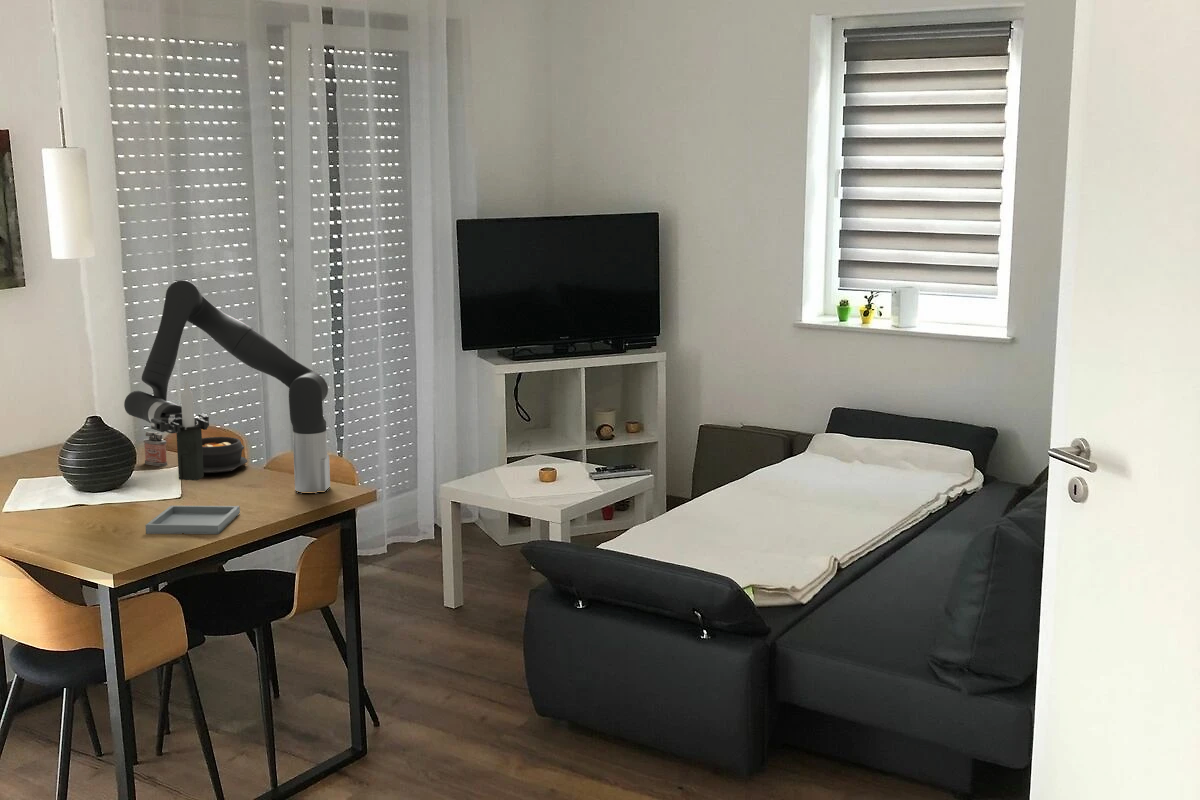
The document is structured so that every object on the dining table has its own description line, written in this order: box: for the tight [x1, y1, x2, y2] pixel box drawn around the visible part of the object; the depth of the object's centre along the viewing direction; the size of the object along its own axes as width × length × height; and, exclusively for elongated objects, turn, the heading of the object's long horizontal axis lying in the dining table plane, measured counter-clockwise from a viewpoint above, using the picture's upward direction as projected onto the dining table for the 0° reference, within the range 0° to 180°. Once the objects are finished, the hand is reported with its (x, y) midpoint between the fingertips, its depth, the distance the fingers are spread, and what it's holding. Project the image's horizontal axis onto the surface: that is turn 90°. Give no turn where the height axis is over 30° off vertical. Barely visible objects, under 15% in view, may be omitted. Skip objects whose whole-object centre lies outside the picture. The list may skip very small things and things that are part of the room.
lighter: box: [143, 431, 168, 467], centre depth 368 cm, size 8×3×10 cm, turn 65°
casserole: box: [202, 436, 249, 474], centre depth 363 cm, size 25×19×8 cm
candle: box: [175, 380, 205, 481], centre depth 302 cm, size 5×5×25 cm
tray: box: [145, 505, 241, 535], centre depth 306 cm, size 18×18×2 cm
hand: (192, 427), depth 300 cm, fingers closed on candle, 6 cm apart
